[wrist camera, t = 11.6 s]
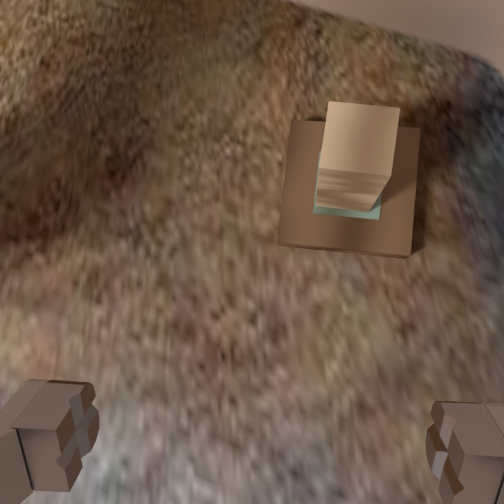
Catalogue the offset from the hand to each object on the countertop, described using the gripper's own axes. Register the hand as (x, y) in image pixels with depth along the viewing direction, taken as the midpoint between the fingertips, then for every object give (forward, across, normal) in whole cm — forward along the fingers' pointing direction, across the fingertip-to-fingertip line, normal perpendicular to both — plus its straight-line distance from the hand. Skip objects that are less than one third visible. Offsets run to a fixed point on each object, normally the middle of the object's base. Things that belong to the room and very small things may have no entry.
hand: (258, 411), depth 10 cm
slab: (+27, -6, +2) cm, 28 cm away
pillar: (+25, -5, 0) cm, 26 cm away
